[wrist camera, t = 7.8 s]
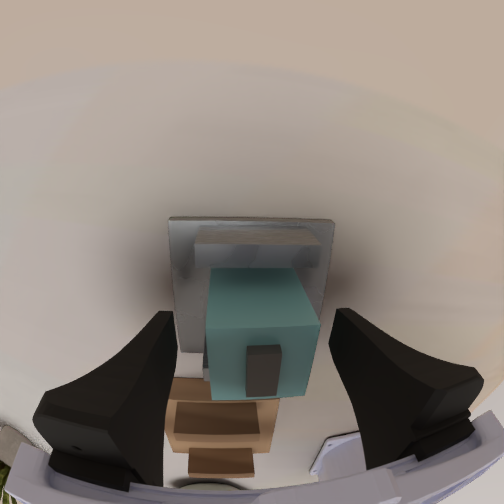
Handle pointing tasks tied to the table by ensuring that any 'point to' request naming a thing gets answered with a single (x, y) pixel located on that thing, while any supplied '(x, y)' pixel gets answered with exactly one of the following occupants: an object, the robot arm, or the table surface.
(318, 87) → the table surface
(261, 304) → the plug
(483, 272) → the table surface
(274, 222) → the lower dock
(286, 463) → the table surface
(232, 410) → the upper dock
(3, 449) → the house plant
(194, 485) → the air freshener
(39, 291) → the table surface
